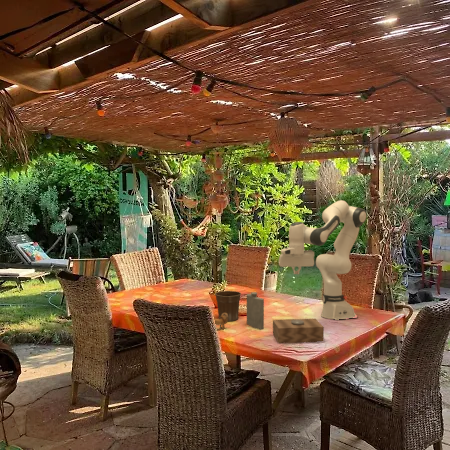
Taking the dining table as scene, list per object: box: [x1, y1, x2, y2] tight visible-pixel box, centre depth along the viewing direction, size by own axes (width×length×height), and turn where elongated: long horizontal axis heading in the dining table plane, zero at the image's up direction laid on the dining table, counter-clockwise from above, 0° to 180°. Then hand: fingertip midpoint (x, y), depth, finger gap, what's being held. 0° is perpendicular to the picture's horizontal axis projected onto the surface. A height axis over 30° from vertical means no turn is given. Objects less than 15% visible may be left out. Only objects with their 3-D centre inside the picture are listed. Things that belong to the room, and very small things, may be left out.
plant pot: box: [214, 290, 242, 322], centre depth 288 cm, size 16×16×16 cm
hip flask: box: [246, 291, 265, 331], centre depth 272 cm, size 16×4×20 cm, turn 29°
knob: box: [291, 320, 304, 325], centre depth 250 cm, size 7×7×7 cm
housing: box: [272, 318, 325, 344], centre depth 251 cm, size 24×16×8 cm, turn 95°
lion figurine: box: [213, 313, 228, 331], centre depth 266 cm, size 15×5×9 cm, turn 124°
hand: (296, 274), depth 269 cm, fingers closed
